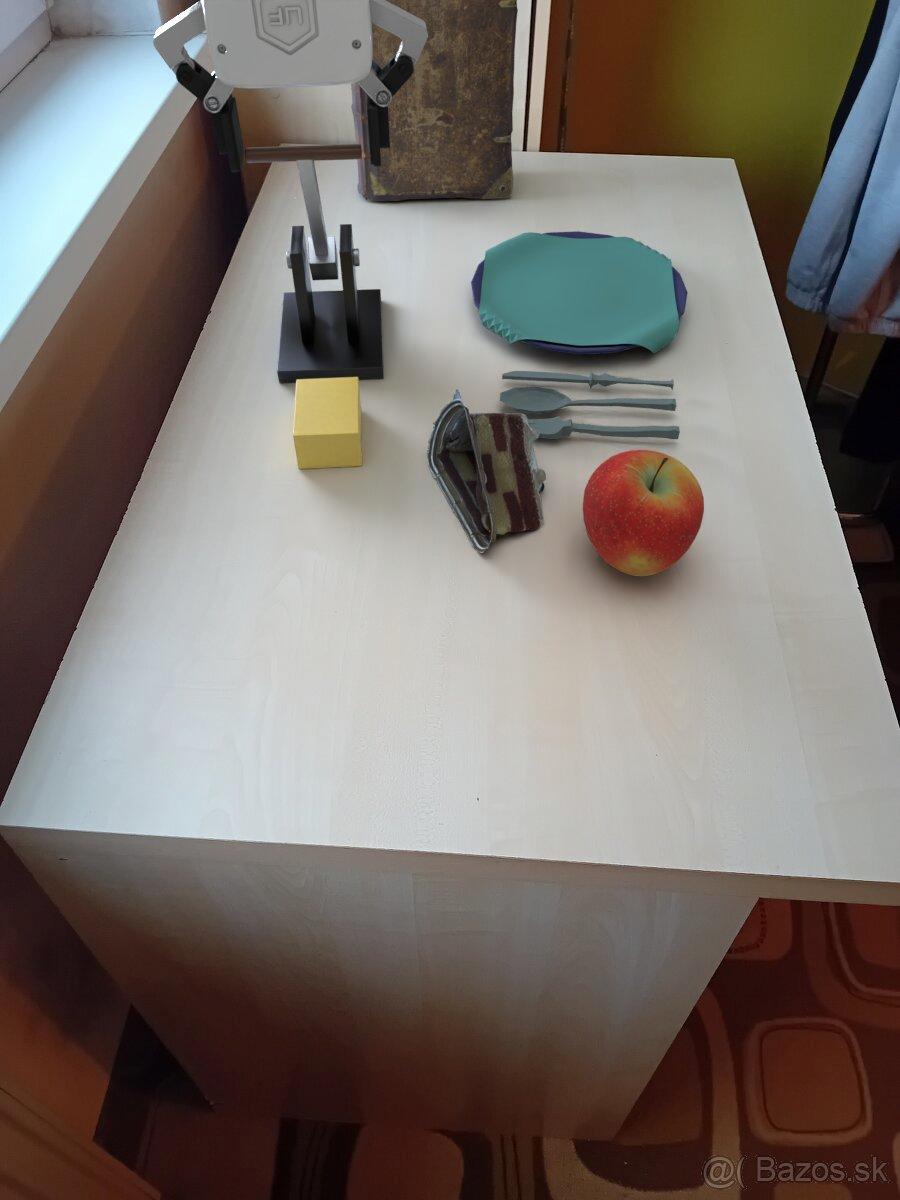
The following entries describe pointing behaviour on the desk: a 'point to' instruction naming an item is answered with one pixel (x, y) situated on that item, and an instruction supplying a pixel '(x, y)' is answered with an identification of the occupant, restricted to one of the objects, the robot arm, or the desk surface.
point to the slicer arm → (311, 196)
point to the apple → (642, 511)
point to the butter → (328, 423)
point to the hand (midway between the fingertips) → (307, 160)
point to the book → (446, 106)
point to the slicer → (329, 320)
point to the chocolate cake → (487, 471)
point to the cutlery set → (580, 316)
